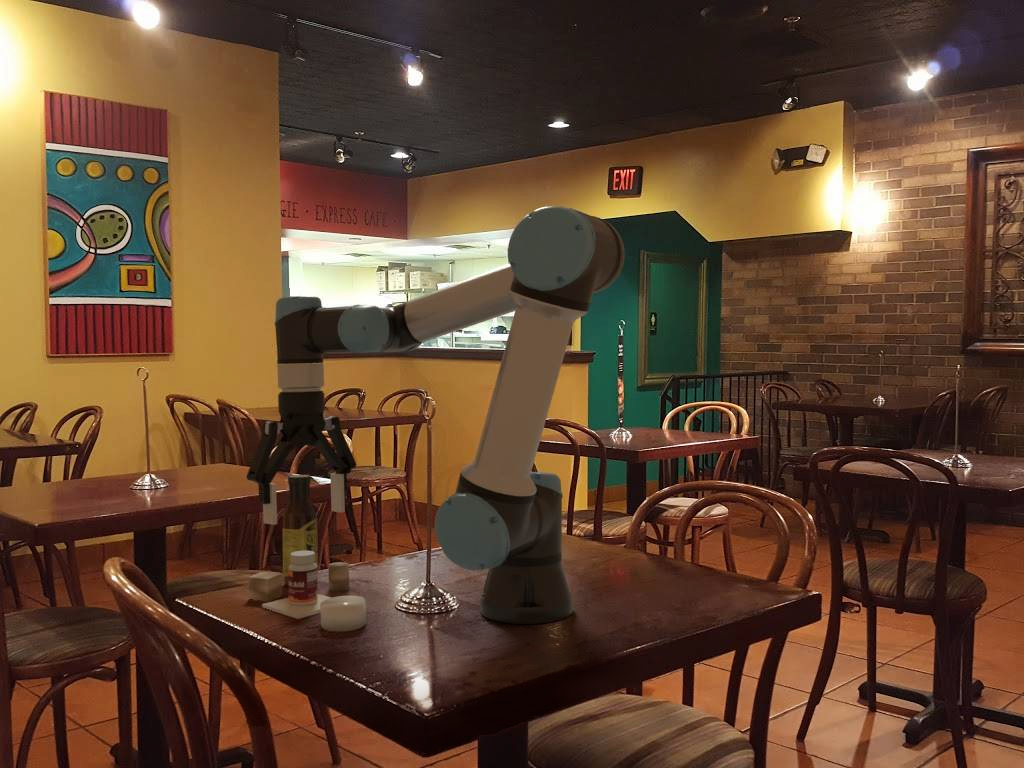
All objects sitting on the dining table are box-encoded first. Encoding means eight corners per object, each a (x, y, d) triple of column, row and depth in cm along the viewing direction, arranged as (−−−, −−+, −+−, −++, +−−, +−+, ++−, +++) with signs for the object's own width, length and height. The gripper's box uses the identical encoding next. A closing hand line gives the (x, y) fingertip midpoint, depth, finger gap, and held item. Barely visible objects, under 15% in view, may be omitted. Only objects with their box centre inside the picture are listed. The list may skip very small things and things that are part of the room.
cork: (353, 588, 169) (352, 564, 169) (337, 592, 167) (336, 567, 167) (340, 585, 172) (340, 561, 172) (324, 589, 169) (324, 564, 169)
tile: (347, 605, 158) (347, 602, 158) (297, 618, 151) (297, 615, 151) (311, 595, 165) (311, 591, 165) (262, 607, 157) (262, 604, 157)
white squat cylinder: (362, 614, 152) (360, 593, 152) (370, 627, 146) (369, 605, 145) (318, 621, 150) (316, 599, 149) (325, 634, 143) (323, 612, 143)
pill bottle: (282, 604, 157) (281, 554, 157) (302, 597, 161) (301, 548, 161) (304, 607, 155) (303, 557, 155) (323, 600, 159) (323, 551, 159)
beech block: (282, 596, 165) (281, 573, 165) (268, 602, 161) (267, 579, 161) (263, 594, 166) (262, 571, 166) (248, 600, 163) (248, 577, 162)
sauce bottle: (313, 588, 170) (311, 478, 169) (279, 588, 170) (277, 478, 169) (321, 579, 176) (320, 473, 175) (288, 579, 176) (286, 473, 176)
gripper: (346, 386, 168) (350, 505, 169) (221, 393, 149) (226, 526, 150) (374, 386, 163) (377, 508, 164) (248, 394, 144) (252, 531, 145)
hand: (305, 517), depth 157 cm, fingers open, 13 cm apart
